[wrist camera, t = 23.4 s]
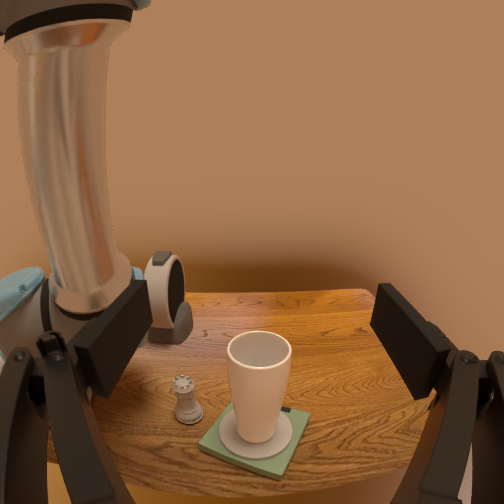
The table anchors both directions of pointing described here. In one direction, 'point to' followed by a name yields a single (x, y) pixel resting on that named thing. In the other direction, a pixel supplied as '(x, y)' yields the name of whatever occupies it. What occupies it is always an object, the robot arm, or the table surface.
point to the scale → (256, 454)
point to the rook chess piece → (186, 401)
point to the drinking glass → (258, 382)
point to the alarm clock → (167, 299)
